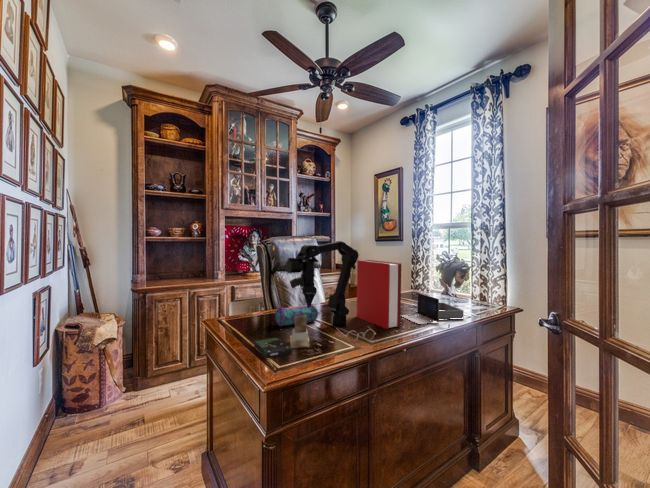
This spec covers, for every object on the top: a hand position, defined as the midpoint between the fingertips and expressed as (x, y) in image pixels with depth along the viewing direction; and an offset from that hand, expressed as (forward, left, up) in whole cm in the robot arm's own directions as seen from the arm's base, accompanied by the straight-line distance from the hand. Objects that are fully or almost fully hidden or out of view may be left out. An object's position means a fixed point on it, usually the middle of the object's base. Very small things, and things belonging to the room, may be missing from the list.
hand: (307, 305), depth 139 cm
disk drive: (+15, +21, -13) cm, 30 cm away
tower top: (+4, +16, -10) cm, 19 cm away
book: (-38, -13, -13) cm, 42 cm away
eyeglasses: (-21, +6, -13) cm, 26 cm away
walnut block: (+4, +16, -7) cm, 18 cm away
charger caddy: (-79, -22, -12) cm, 83 cm away
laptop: (-62, -14, -13) cm, 65 cm away
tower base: (+5, +16, -13) cm, 21 cm away
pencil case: (+4, -14, -13) cm, 19 cm away
